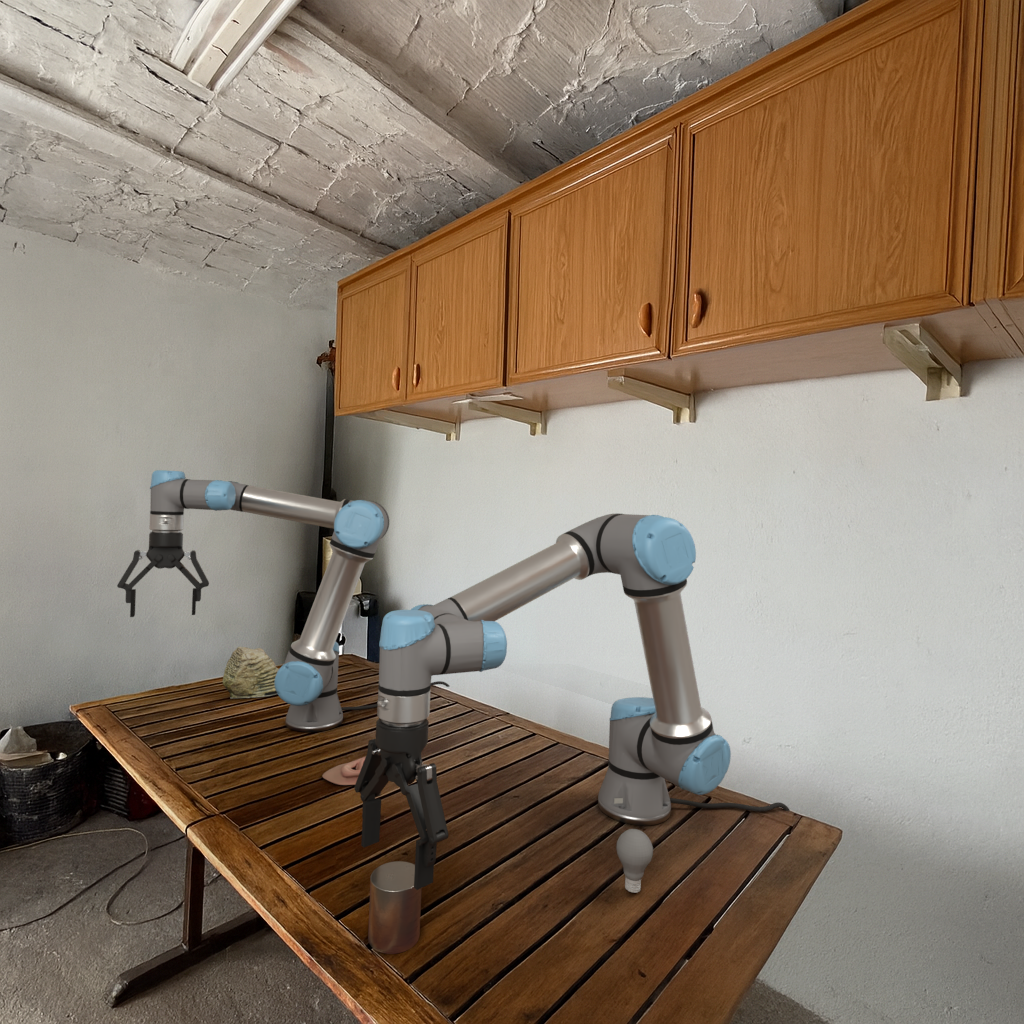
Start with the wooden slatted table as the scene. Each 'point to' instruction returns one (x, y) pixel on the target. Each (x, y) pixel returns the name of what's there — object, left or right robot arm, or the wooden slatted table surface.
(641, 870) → the light bulb
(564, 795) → the wooden slatted table surface
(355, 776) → the anatomical model
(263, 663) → the fossil
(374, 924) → the canister
